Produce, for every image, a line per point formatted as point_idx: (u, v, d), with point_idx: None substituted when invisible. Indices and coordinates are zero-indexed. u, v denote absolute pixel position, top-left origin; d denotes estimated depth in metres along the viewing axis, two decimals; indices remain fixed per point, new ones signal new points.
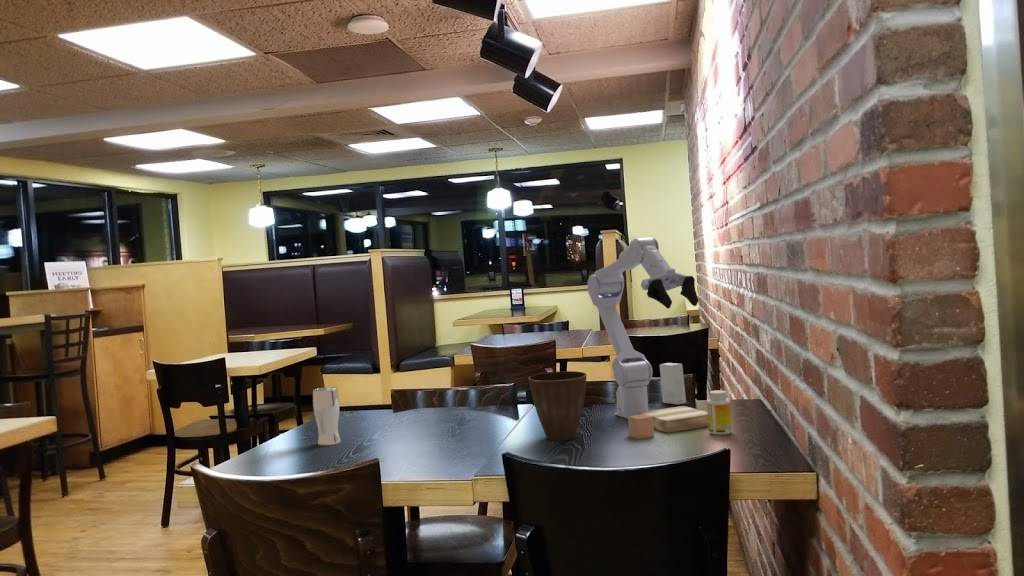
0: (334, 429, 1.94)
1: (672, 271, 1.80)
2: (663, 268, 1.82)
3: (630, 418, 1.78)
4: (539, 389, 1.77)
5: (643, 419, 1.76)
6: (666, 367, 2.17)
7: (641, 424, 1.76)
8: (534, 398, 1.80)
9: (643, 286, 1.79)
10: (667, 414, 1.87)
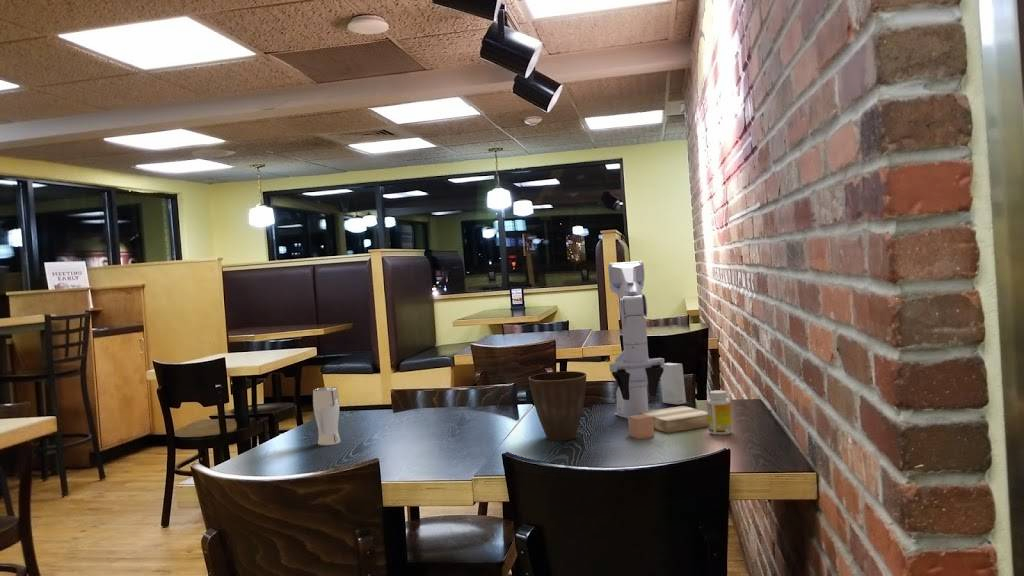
0: (334, 429, 1.94)
1: (645, 364, 1.75)
2: (639, 355, 1.75)
3: (630, 418, 1.78)
4: (539, 389, 1.77)
5: (643, 419, 1.76)
6: (666, 367, 2.17)
7: (641, 424, 1.76)
8: (534, 398, 1.80)
9: (611, 369, 1.76)
10: (667, 414, 1.87)
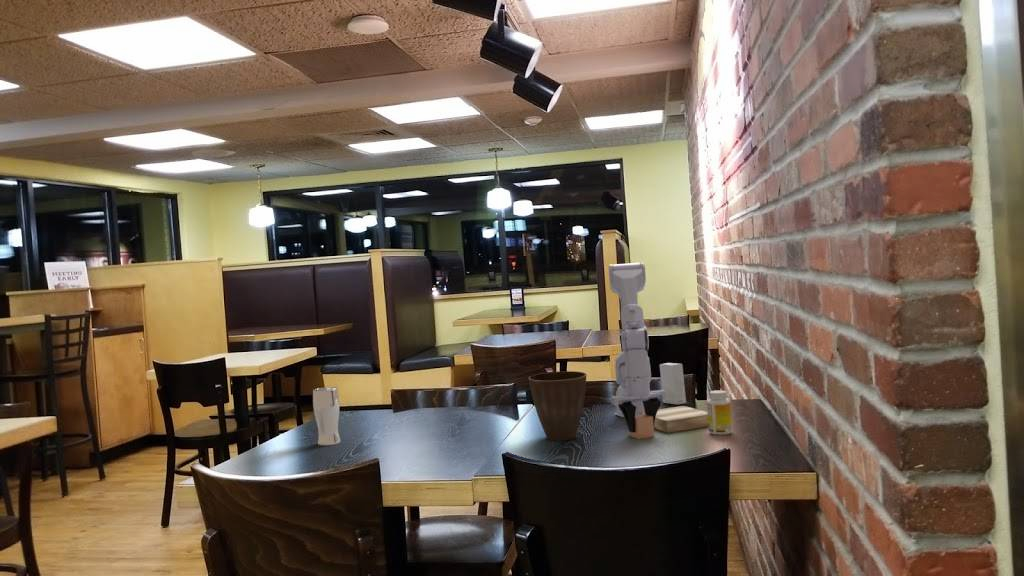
0: (334, 429, 1.94)
1: (646, 398, 1.75)
2: (640, 389, 1.75)
3: None
4: (539, 389, 1.77)
5: (643, 419, 1.76)
6: (666, 367, 2.17)
7: (641, 424, 1.76)
8: (534, 398, 1.80)
9: (612, 402, 1.76)
10: (667, 414, 1.87)
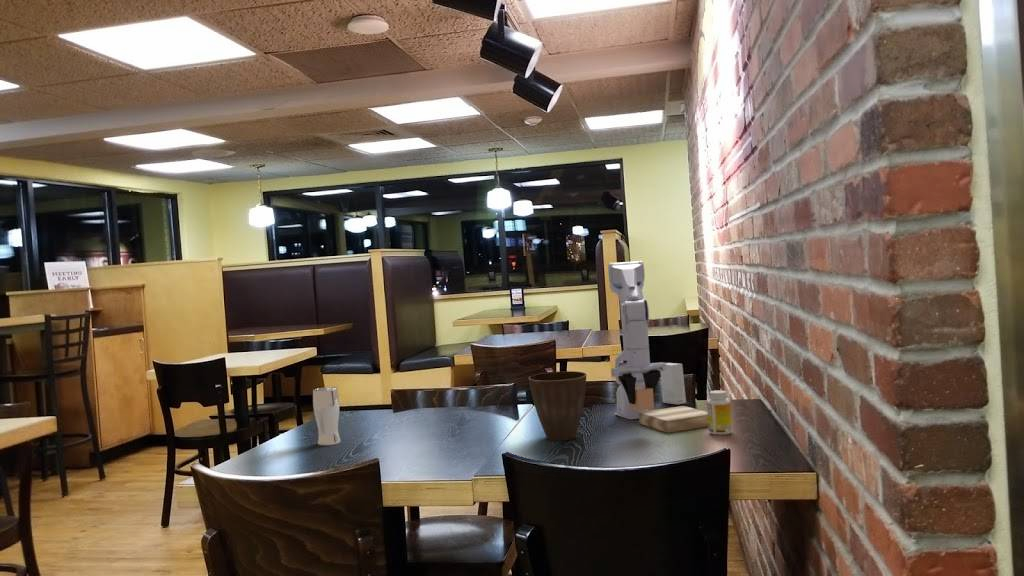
0: (334, 429, 1.94)
1: (646, 369, 1.75)
2: (640, 360, 1.76)
3: None
4: (539, 389, 1.77)
5: (643, 391, 1.76)
6: (666, 367, 2.17)
7: (642, 396, 1.76)
8: (534, 398, 1.80)
9: (612, 374, 1.76)
10: (667, 414, 1.87)
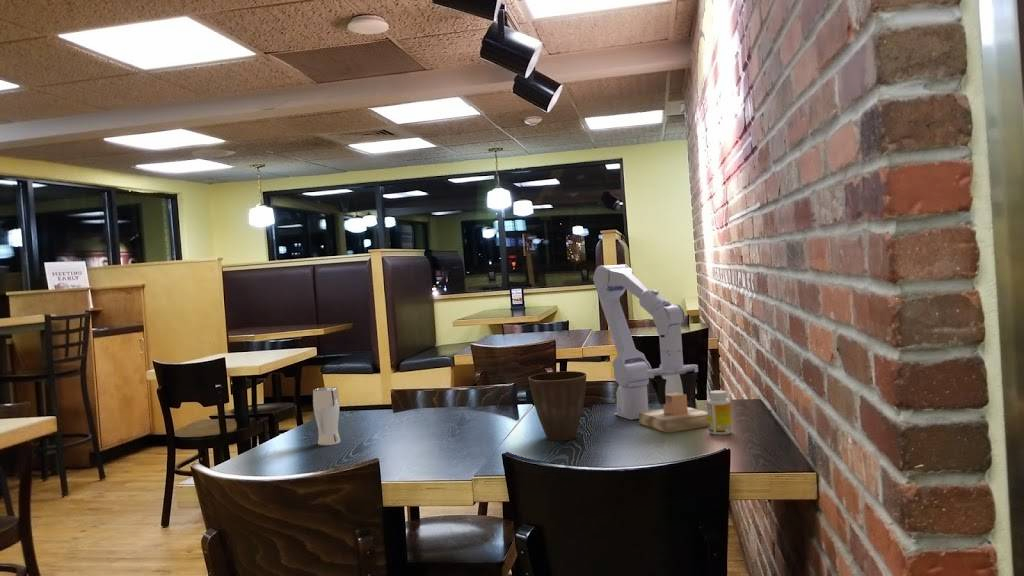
0: (334, 429, 1.94)
1: (680, 371, 1.85)
2: (674, 362, 1.85)
3: (665, 396, 1.88)
4: (539, 389, 1.77)
5: (677, 396, 1.86)
6: None
7: (676, 402, 1.86)
8: (534, 398, 1.80)
9: (648, 375, 1.86)
10: (667, 414, 1.87)
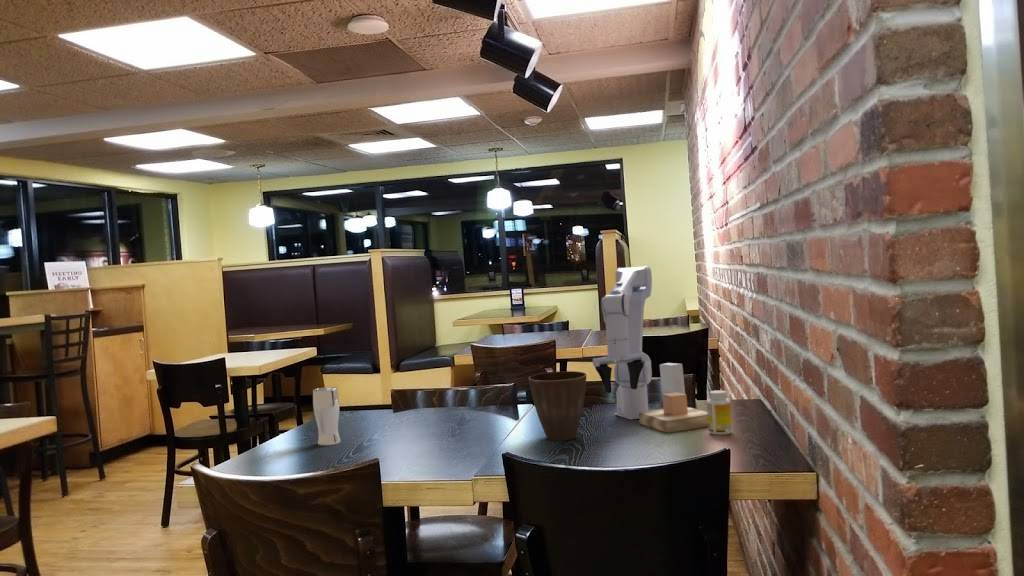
0: (334, 429, 1.94)
1: (626, 359, 1.85)
2: (620, 351, 1.86)
3: (665, 396, 1.88)
4: (539, 389, 1.77)
5: (677, 396, 1.86)
6: (666, 367, 2.17)
7: (676, 402, 1.86)
8: (534, 398, 1.80)
9: (594, 363, 1.86)
10: (667, 414, 1.87)
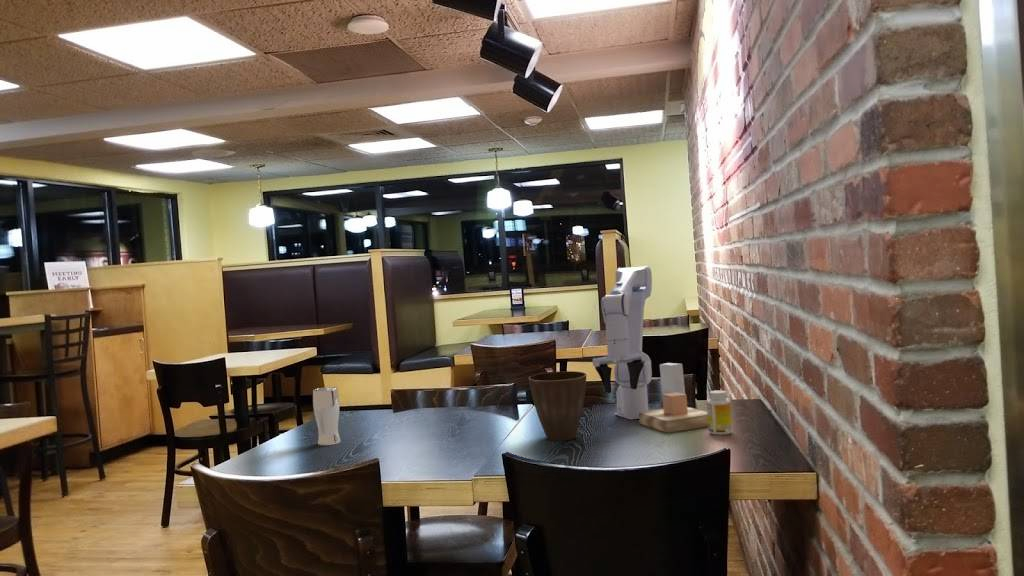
0: (334, 429, 1.94)
1: (626, 359, 1.85)
2: (620, 351, 1.86)
3: (665, 396, 1.88)
4: (539, 389, 1.77)
5: (677, 396, 1.86)
6: (666, 367, 2.17)
7: (676, 402, 1.86)
8: (534, 398, 1.80)
9: (594, 363, 1.86)
10: (667, 414, 1.87)
